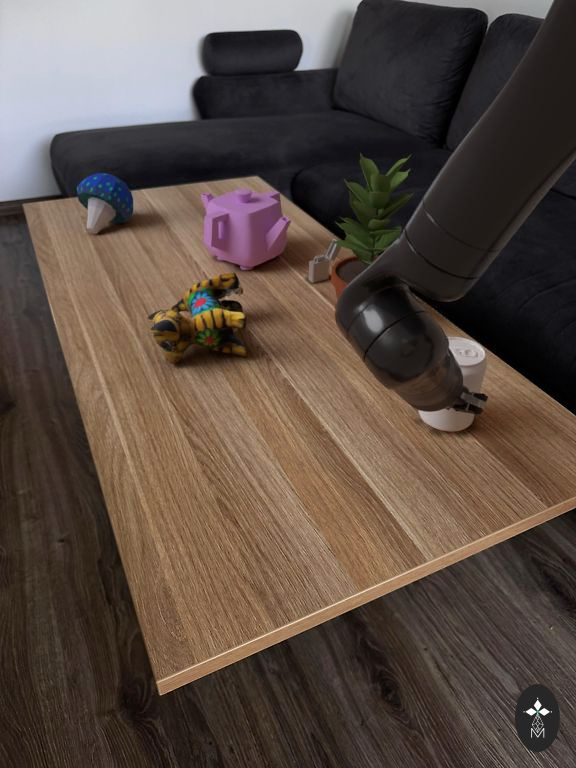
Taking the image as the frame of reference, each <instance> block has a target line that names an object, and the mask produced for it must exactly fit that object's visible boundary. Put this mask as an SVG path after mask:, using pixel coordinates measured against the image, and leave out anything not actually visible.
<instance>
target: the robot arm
mask: <svg viewBox="0 0 576 768" xmlns="http://www.w3.org/2000/svg"><path fill="white" fill-rule="evenodd" d="M575 160H576V0H553V1H552V3H551V5H550V7H549V9H548V12H547V14H546V16H545V17H544V20H543V22H542V23H541V25H540V27H539V29H538V31H537V32H536V34H535V36H534V37H533V40H532V41H531V43H530V45H529V46H528V48H527V49H526V51H525V53H524V55H523V57H522V58H521V60H520V62H519V63H518V64H517V67H516V68H515V69H514V71H513V72H512V74H511V75H510V77H509V79H508V80H507V82H506V83H505V84H504V86H503V88H502V89H501V90H500V92H499V93H498V94H497V95H496V97H495V99H494V100H493V101H492V102H491V104H490V105H489V106H488V108H487V109H486V110H485V112H484V113H483V115H482V116H481V117H480V118H479V120H478V121H477V122H476V123H475V124H474V126H473V127H472V128H471V129H470V131H468V133H467V134H466V136H465V137H464V138H463V139H462V140H461V142H460V143H459V144H458V145H457V147H456V148H455V150H453V152H452V153H451V154H450V156H449V157H448V159H447V160H446V161H445V163H444V164H443V166H442V167H441V168H440V170H439V171H438V172H437V174H436V176H435V177H434V179H433V180H432V181H431V184H430V185H429V187H428V188H427V189H426V191H425V193H424V195H423V196H422V198H421V200H420V202H419V203H418V205H417V206H416V207H415V210H414V211H413V212H412V214H411V216H410V217H409V219H408V221H407V222H406V224H405V225H404V227H403V228H402V231H401V232H400V233H401V234H400V235H399V236H398V237H397V239H396V240H395V241H394V242H393V243H392V244H390V245H389V247H388V248H387V249H386V250H384V251H382V252H381V253H380V254H379V255H378V256H379V257H378V258H377V259H376V260H375V261H374V262H373V263H372V264H370V265H369V266H368V267H367V268H366V269H365V270H364V271H363V272H361V273H360V274H359V275H358V276H357V277H355V278H354V279H353V280H352V281H351V282H350V283H349V284H348V285H347V286H346V287H345V288H344V289H343V290H342V292H341V293H340V295H339V297H338V300H337V299H336V304H335V308H334V320H335V324H336V326H337V328H338V330H339V332H340V333H341V335H342V336H343V337H344V339H345V340H346V341H347V342H348V343H349V345H350V346H351V347H352V349H353V350H354V351H355V353H356V355H357V356H358V357H359V358H360V360H361V361H362V363H363V364H364V365H365V366H366V368H367V370H368V371H369V372H370V373H371V374H372V376H373V377H374V378H375V379H376V380H377V382H378V383H380V385H382V386H383V387H384V388H385V389H387V390H391V391H394V392H395V393H396V394H397V395H398V396H399V397H400V398H401V399H402V400H404V402H406V403H407V404H408V405H409V406H410V407H412V408H413V409H415V410H420V411H425V412H435V411H439V410H442V409H447V410H450V408H453V409H455V411H457V412H459V411H460V412H465V413H471V414H475V415H474V416H481V415H482V413H483V410H484V408H485V405H486V403H487V402H488V398H489V396H488V395H487V394H486V393H483V392H480V393H475V392H473V391H472V392H469V389H468V388H467V387H465V386H464V385H463V375H462V371H461V368H460V366H459V364H458V362H457V361H456V359H455V357H454V355H453V353H452V352H451V350H450V349H449V340H448V338H447V337H448V336H447V334H446V333H445V330H443V328H442V327H441V325H440V324H439V323H438V322H437V321H436V319H435V318H434V317H433V315H431V313H430V312H429V311H428V310H427V308H426V307H425V306H424V305H423V304H422V303H421V301H419V299H418V298H417V296H416V295H414V293H413V292H412V291H411V290H410V288H411V289H413V290H414V291H416V292H418V293H419V294H421V295H422V296H424V297H427V298H429V299H432V300H434V301H437V302H438V301H439V302H453V301H457V300H459V299H461V298H463V297H464V296H466V295H467V294H468V293H469V292H470V291H471V290H472V289H473V288H474V287H475V285H476V284H477V283H478V282H479V281H480V279H481V278H482V277H483V275H484V274H485V272H486V271H487V270H488V269H489V267H490V266H491V265H492V264H493V262H494V261H495V260H496V259H497V257H498V256H499V255H500V253H501V252H502V251H503V250H504V248H505V247H506V246H507V244H509V242H510V241H511V239H512V238H513V237H514V236H515V234H516V233H517V232H518V230H519V229H520V228H521V226H523V224H524V223H525V221H526V220H527V219H528V217H529V216H530V215H531V213H532V212H533V211H534V210H535V209H536V207H537V206H538V205H539V204H540V203H541V201H542V200H543V198H544V197H545V196H546V195H547V193H548V192H549V191H550V189H551V188H553V186H554V185H555V184H556V183H557V181H558V180H559V179H560V177H561V176H562V175H563V174H564V173H565V172H566V170H567V169H568V168H569V167H570V165H571V164H572V163H574V161H575Z"/></svg>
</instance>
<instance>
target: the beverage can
mask: <svg viewBox="0 0 576 768" xmlns="http://www.w3.org/2000/svg"><path fill="white" fill-rule="evenodd" d="M447 338H448V340H449V349H450V350H451V352H452V353H453V355H454V357H455V359H456V361H457V362H458V364H459V366H460V368H461V371H462V375H463V385H464V386H465V387H467V388H468V389H469V392H472V391H473V392H475V393H481V390H482V386H483V383H484V378H485V375H486V372H487V371H486V370H487V367H488V360H487V359H488V358H487V356H486V350H485V349H484V348H483V347H482V346H481V345H480V344H479V343H478V342H476V341H474V340H471V339H469V338H466V337H460V336H447ZM417 410H418V409H417ZM418 415H419V417H420V418H421V420H422V421H423V422H424V423H425V424H427V425H428V426H429V427H431V428H433V429H436V430H439V431H444V432H459V431H463V430H465V429H468V427H470V426H471V425H472V424H473V422H474V418H475V416H476V415H475V414H471V413H465V412H460V411H459V412H457V411H455V409H453V408H450V410H447V409H442V410H439V411H435V412H425V411H420V410H418Z"/></svg>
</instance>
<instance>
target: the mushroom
mask: <svg viewBox="0 0 576 768" xmlns="http://www.w3.org/2000/svg"><path fill="white" fill-rule="evenodd" d="M76 193H77V199H78V202H79V204H81V205H82V206H83V207H84V208H85V210H87V220H86V231H88V233H90V234H93V235H97V234H98V233H99V232H100V231H101V230H102V229H104V227H105V226H106V225H107V224H109V223H115V224H124V223H127V222H128V221H129V220H131V219H133V214H134V197H133V193H132V191H131V190H130V188H129V187H128V185H127V184H126V182H125V181H123V180H122V179H120V178H119V177H117V176H115V175H113V174H110V173H105V172H98V173H97V172H96V173H94V174H91V175H89V176H87V177H85V178H84V179H83V180H81V181H80V183H79V184H78V185H77V187H76Z"/></svg>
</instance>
